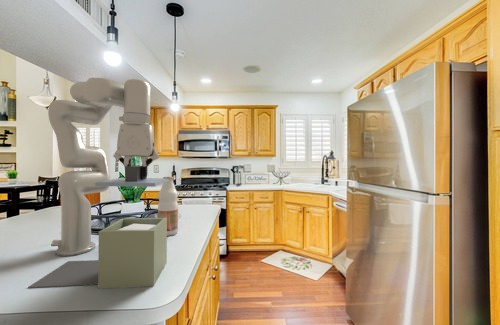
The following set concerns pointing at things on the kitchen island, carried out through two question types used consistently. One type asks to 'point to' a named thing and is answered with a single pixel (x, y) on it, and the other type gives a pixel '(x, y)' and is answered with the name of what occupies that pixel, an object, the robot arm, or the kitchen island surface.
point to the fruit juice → (169, 206)
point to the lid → (133, 179)
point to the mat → (71, 275)
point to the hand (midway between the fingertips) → (136, 178)
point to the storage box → (132, 253)
